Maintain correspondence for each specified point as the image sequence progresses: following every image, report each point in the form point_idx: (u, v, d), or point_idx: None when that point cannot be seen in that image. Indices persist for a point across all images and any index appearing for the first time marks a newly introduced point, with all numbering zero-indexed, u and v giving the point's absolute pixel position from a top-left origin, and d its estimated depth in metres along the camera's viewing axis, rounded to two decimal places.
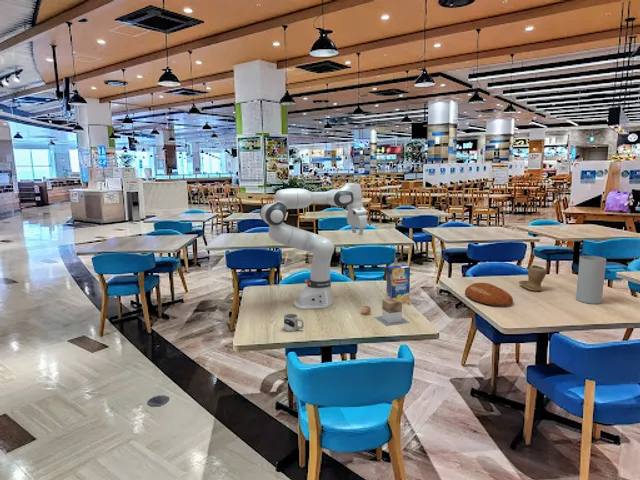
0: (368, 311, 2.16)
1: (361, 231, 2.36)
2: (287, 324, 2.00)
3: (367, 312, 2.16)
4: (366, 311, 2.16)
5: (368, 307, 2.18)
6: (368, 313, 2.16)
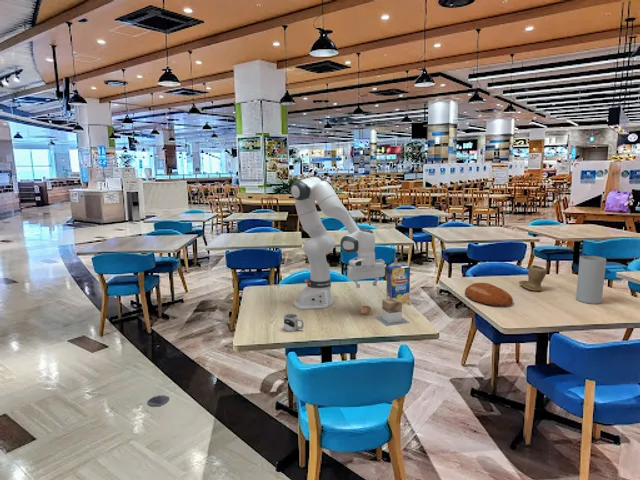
0: (368, 311, 2.16)
1: (356, 283, 2.14)
2: (287, 324, 2.00)
3: (367, 312, 2.16)
4: (366, 311, 2.16)
5: (368, 307, 2.18)
6: (368, 313, 2.16)
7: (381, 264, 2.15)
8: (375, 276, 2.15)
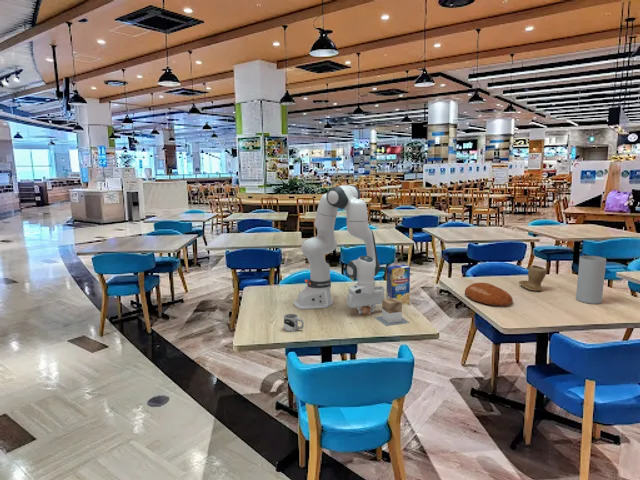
0: (368, 311, 2.16)
1: (358, 310, 2.17)
2: (287, 324, 2.00)
3: (367, 312, 2.16)
4: (366, 311, 2.16)
5: (368, 307, 2.18)
6: (368, 313, 2.16)
7: (380, 291, 2.18)
8: (374, 303, 2.18)
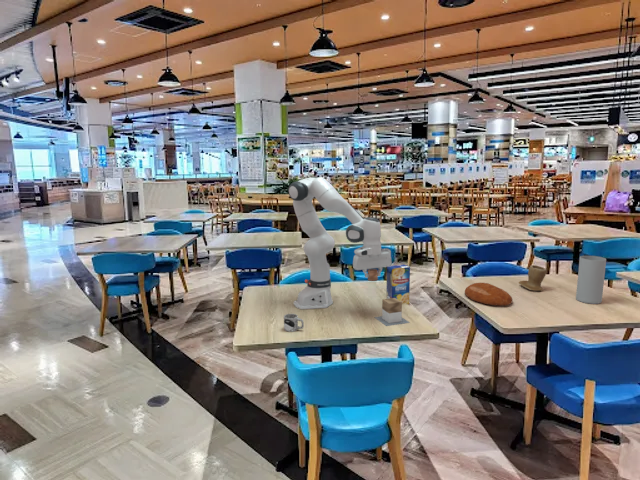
0: (375, 274, 2.10)
1: (364, 273, 2.11)
2: (287, 324, 2.00)
3: (374, 275, 2.10)
4: (372, 274, 2.10)
5: (375, 270, 2.12)
6: (375, 276, 2.10)
7: (387, 253, 2.12)
8: (381, 266, 2.12)
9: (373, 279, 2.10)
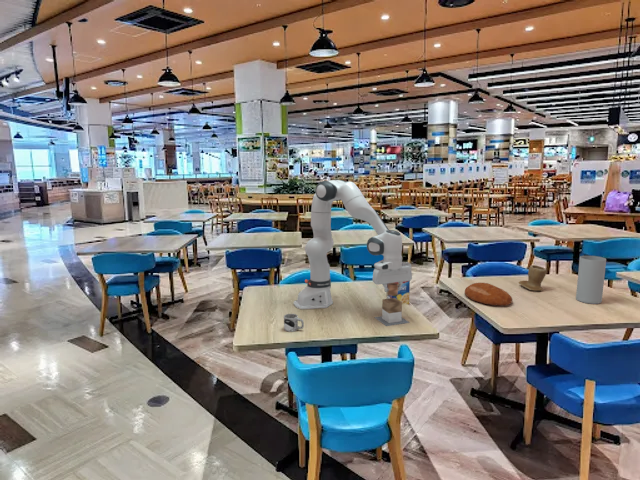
0: (395, 288, 2.04)
1: (384, 287, 2.05)
2: (287, 324, 2.00)
3: (394, 290, 2.04)
4: (392, 288, 2.04)
5: (395, 284, 2.06)
6: (395, 290, 2.04)
7: (408, 267, 2.06)
8: (402, 280, 2.06)
9: (393, 294, 2.04)
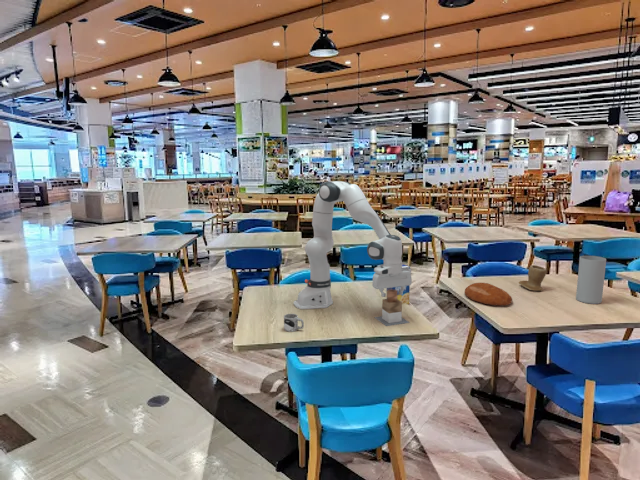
0: (395, 295, 2.05)
1: (381, 292, 2.05)
2: (287, 324, 2.00)
3: (394, 296, 2.05)
4: (392, 295, 2.05)
5: (394, 291, 2.06)
6: (395, 297, 2.05)
7: (408, 272, 2.06)
8: (401, 285, 2.06)
9: (393, 300, 2.05)
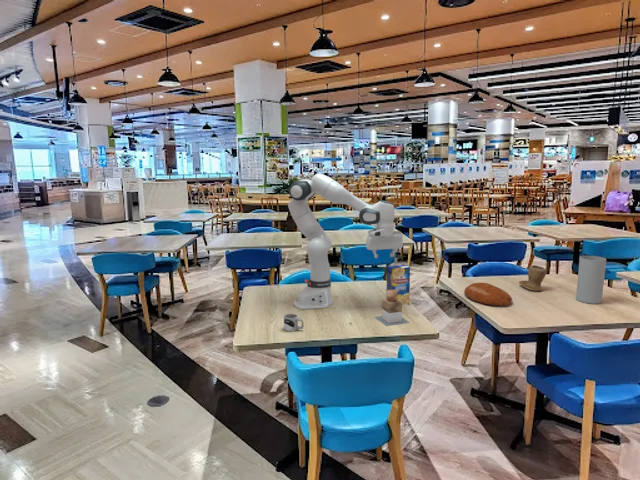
0: (395, 295, 2.05)
1: (374, 253, 2.21)
2: (287, 324, 2.00)
3: (394, 296, 2.05)
4: (392, 295, 2.05)
5: (394, 291, 2.06)
6: (395, 297, 2.05)
7: (399, 236, 2.22)
8: (393, 247, 2.22)
9: (393, 300, 2.05)
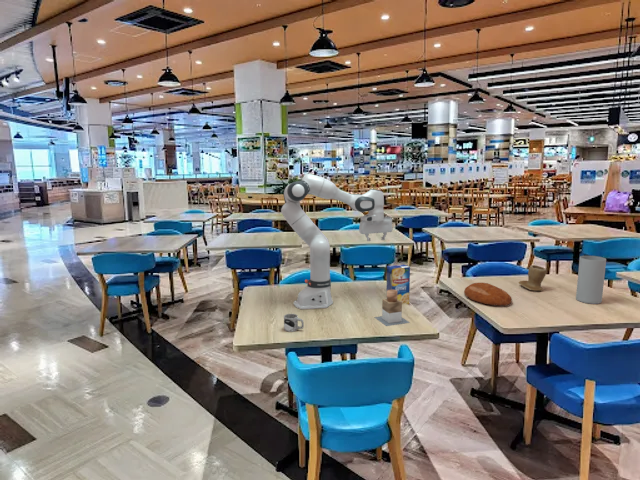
0: (395, 295, 2.05)
1: (366, 237, 2.44)
2: (287, 324, 2.00)
3: (394, 296, 2.05)
4: (392, 295, 2.05)
5: (394, 291, 2.06)
6: (395, 297, 2.05)
7: (389, 221, 2.46)
8: (383, 231, 2.45)
9: (393, 300, 2.05)
